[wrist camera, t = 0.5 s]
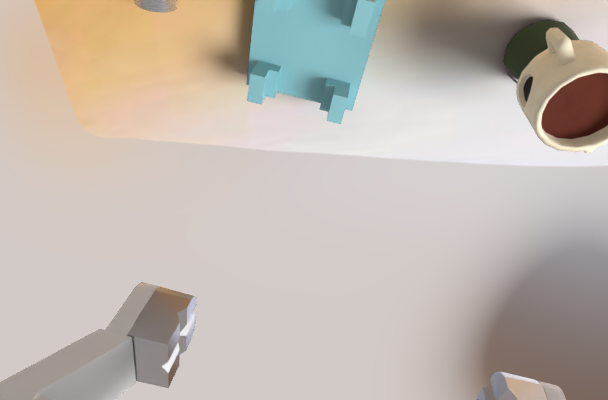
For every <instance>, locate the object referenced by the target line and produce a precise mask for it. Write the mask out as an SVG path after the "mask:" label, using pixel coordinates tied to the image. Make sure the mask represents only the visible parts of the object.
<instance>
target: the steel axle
mask: <svg viewBox="0 0 608 400" xmlns="http://www.w3.org/2000/svg"><path fill="white" fill-rule="evenodd" d="M135 4H136V5H137V6H138V7H140V8H142V9H145V10H148V11H153V12H171V11H174V10H176V9H177V0H135Z"/></svg>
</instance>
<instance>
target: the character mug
mask: <svg viewBox="0 0 608 400" xmlns="http://www.w3.org/2000/svg"><path fill="white" fill-rule="evenodd" d="M504 64H505V66H506V67H507V68H508V69H509V70H510V71H511V72H512V73H513V74H514V75H515V76H516V77H517V78H518V79H519V80H518V82H517V81H516V80H515V79H513V78H512V77H511V76H510V75H509V73H508V72H507V73H508V75H509V76H510V77H511V78H512V80H513V81H514V82H516V83H517V89H516V94H517V99H518V102H519V104H520V106H521V108H522V111H523V112H524V114H525V115H526V117H527V119H528V120H529V122H530V124H531V126H532V127H533V129H534V131H535V133H536V134H537V136H538V137H539V138H540V140H541V141H542V142H543V143H544V144H545V145H548V146H550V147H552V148H554V149H556V150H560V151H571V152H578V151H584V152H585V153H591V152H592V151H593V150H594V149H595V148H597V147H600V146H602V145H604V144H606V143H608V52H607V51H606V50H605V49H603V48H602V47H600V46H598V45H597V44H595V43H593V42H591V41H587V40H579V39H578V37H577V36H576V34H575V33H574V31H573V30H572V29H570V28H569V27H568V26H567V25H566V24H565V23H564V22H558V21H551V20H547V21H543V22H540V23H536V24H532V25H530V26H529V27H527V28H525V29H524V30H522V31H521V32H519V33H517V34H516V35H515V37H514V38H513V39H512V41H511V42H510V44H509V45H508V46H507V48H506V52H505V57H504Z"/></svg>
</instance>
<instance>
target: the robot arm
mask: <svg viewBox="0 0 608 400" xmlns="http://www.w3.org/2000/svg"><path fill="white" fill-rule="evenodd" d="M195 307H196V297H195V296H192V295H188V294H184V293H181V292H177V291H173V290H170V289H166V288H163V287H159V286H155V285H151V284H147V283H143V282H141V283H140V284H138V285H137V286H136V287H135V288H134V290H133V291H132V293H131V294H130V296H129V297H128V298H127V300H126V302H125V303H124V304H123V306H122V307H121V309H120V310H119V311H118V313H117V314H116V316H115V317H114V319H113V320H112V321H111V323H110V324H109V326H108V327H107V329H106V330H102V329H99V330H97V331H95V332H93V333H91V334H89V335H88V336H86V337H84V338H82V339H80V340H78V341H77V342H74V343H73V344H71V345H69V346H67V347H65V348H63V349H61V350H60V351H58V352H56V353H54V354H52V355H50V356H48V357H47V358H45V359H43V360H41V361H39V362H37V363H35V364H33V365H31V366H30V367H28V368H26V369H24V370H22V371H20V372H18V373H16V374H15V375H13V376H11V377H9V378H7V379H5V380H3V381H1V382H0V400H115V399H116V398H117V397H118V396H120V395H121V394H123V393H124V392H125V391H126V390H128V389H129V388H130V387H132V386H133V385H134V384H135V383H136V381H139V382H144V383H148V384H153V385H157V386H162V387H166V388H168V387H169V386H170V383H171V381H172V379H173V377H174V375H175V373H176V371H177V369H178V367H179V355H180V354H181V353H183V352H184V351H186V349H187V347H188V345H189V343H190V340H191V337H192V334H193V331H194V327H195V319H196V316H195V315H194V313H193V311H194V309H195ZM490 380H491V384H492V385H490V386H487V387H485V388H483V389H482V390H481V391H480V393H479V394H478V397H477V400H566V399H565V396H564V394H563V392H562V390H561V389H560V388H559V387H558V386H556V385H552V384H548V383H544V382H540V381H536V380H534V379H529V378H525V377H521V376H516V375H512V374H508V373H504V372H497V373H494V375H493V376H492V377H491V378H490Z"/></svg>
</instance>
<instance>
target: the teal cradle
mask: <svg viewBox="0 0 608 400" xmlns="http://www.w3.org/2000/svg"><path fill="white" fill-rule="evenodd" d="M384 2H385V0H255V7H254V16H253V26H252V36H251V45H250V55H249V65H248V74H247V84H246V85H249V89H248V98H247V101H249V102H253V103H258V104H262V102H263V100H264V98H265V96H268V97H272V98H275V96H276V94H277V92H278V93H282V94H286V95H291V96H295V97H299V98H303V99H307V100H311V101H315V102H319V103H321V106H320V110H324V111H328V117H327V121H330V122H334V123H338V124H341V121H342V118H343V114H344V111H345V109H347V110H351V111H352V109H353V106H354V102H355V99H356V96H357V92H358V89H359V86H360V82H361V79H362V76H363V72H364V69H365V66H366V62H367V59H368V56H369V52H370V49H371V46H372V42H373V39H374V36H375V32H376V29H377V26H378V22H379V19H380V16H381V12H382V9H383V6H384Z"/></svg>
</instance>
